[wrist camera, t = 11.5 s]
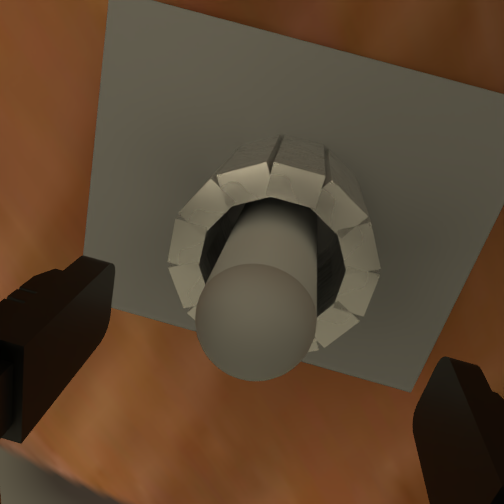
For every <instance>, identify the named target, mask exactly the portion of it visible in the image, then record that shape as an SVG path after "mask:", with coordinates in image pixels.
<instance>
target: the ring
mask: <svg viewBox="0 0 504 504" xmlns="http://www.w3.org/2000/svg"><path fill="white" fill-rule="evenodd" d="M267 197H273V198H277V199H281V200H284V201H288V202H292V203H295V204H299V205H302V206H306V207H310V208H311V209H312V210H313V211H314V212H315V213H316V214H317V215H318V216H319V217H320V218H321V219H322V220H323V221H324V222H325V223H326V224H327V225H328V226H329V227H330V228H331V229H332V230H333V231H334V235H333V238H332V241H331V244H330V245H329V246H328V247H327V248H325V249H324V250H323V251H322V252H321V253H320V254H318V255H317V324H316V332H315V336H314V339H313V342H312V344H311V347H310V349H309V351H308V352H311V351H317V350H319V343H320V344H321V345H322V346H323V347H324V348H325V347H326V346H328V345H329V344H330V343H332V342H333V341H334V340H336V339H337V338H338V337H340V336H341V335H342V334H344V333H345V332H346V331H348V330H349V329H350V328H352V327H353V326H354V325H356V324H357V323H358V322H360V319H359V315H360V316H363V317H364V314H365V312H366V309H367V307H368V304H369V302H370V299H371V297H372V294H373V292H374V290H375V287H376V285H377V282H378V280H379V277H380V272H379V269H381V267H380V262H379V258H378V253H377V248H376V243H375V238H374V234H373V229H372V224H371V220H370V217H369V214H368V211H367V208H366V205H365V202H364V199H363V196H362V193H361V190H360V187H359V183H358V180H356V177H355V175H354V174H353V173H352V172H351V171H350V170H349V169H348V168H347V167H346V166H345V165H344V164H343V163H342V162H341V161H340V160H339V158H338V157H337V156H336V155H335V154H334V153H333V152H332V151H331V150H330V149H329V148H327V149H326V150H325V151H324V146H323V145H322V144H318V143H314V142H311V141H307V140H303V139H299V138H296V137H292V136H288V135H285V136H284V139H283V141H281V138H280V135H277V136H273V137H270V138H266V139H262V140H259V141H255V142H252V143H248V144H244V145H242V146H241V147H240V148H237V149H236V150H235V151H234V152H233V153H232V155H231V156H230V157H229V158H228V159H227V160H226V161H225V162H224V163H223V164H222V165H221V166H220V167H219V168H218V169H217V170H216V171H215V173H214V174H213V175H212V176H211V177H210V178H209V179H208V180H207V181H206V183H205V184H204V185H203V186H202V187H201V188H200V189H199V190H198V191H197V193H196V194H195V195H194V196H193V197H192V198H191V199H190V200H189V201H188V203H187V204H186V205H185V206H184V207H183V208H182V209H181V210H180V212H179V215H178V216H177V217H176V218H175V223H174V229H173V234H172V240H171V245H170V250H169V256H168V261H167V262H169V263H171V264H170V266H169V267H168V269H169V272H170V274H171V277H172V280H173V282H174V285H175V287H176V290H177V293H178V295H179V298H180V300H181V303H182V306H183V308H188V307H190V308H189V310H188V312H187V314H188V315H190V316H191V317H192V318H193V319H194V320H195V315H196V307H197V303H198V300H199V297H200V295H201V293H202V291H203V289H204V287H205V284H206V282H207V280H208V278H209V276H210V274H211V272H212V270H213V268H214V266H215V264H216V262H217V260H218V258H219V256H220V254H221V252H222V250H223V248H224V246H225V244H226V242H227V240H228V238H229V236H230V234H231V232H232V229H231V226H230V223H229V220H228V217H227V215H228V210H229V209H230V208H231V207H232V206H235V205H239V204H243V203H247V202H251V201H255V200H259V199H263V198H267Z"/></svg>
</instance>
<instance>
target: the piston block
mask: <svg viewBox="0 0 504 504" xmlns="http://www.w3.org/2000/svg"><path fill="white" fill-rule="evenodd" d="M277 135H280V138H281V141H283V139H284V136H285V135H288V136H292V137H296V138H299V139H303V140H307V141H311V142H314V143H318V144H322V145H323V146H324V151H325V150H326V149H327V148H329V149H330V150H331V151H332V152H333V153H334V154H335V155H336V156H337V157H338V158H339V160H340V161H341V162H342V163H343V164H344V165H345V166H346V167H347V168H348V169H349V170H350V171H351V172H352V173H353V174H354V175H355V177H356V180H358V183H359V187H360V190H361V193H362V196H363V199H364V202H365V205H366V208H367V211H368V214H369V217H370V220H371V224H372V229H373V234H374V238H375V243H376V248H377V253H378V258H379V262H380V267H381V269H379V272H380V277H379V280H378V282H377V285H376V287H375V290H374V292H373V294H372V297H371V299H370V302H369V304H368V307H367V309H366V312H365V314H364V317H363V316H360V315H359V319H360V322H358V323H357V324H356V325H354V326H353V327H352V328H350V329H349V330H348V331H346V332H345V333H344V334H342V335H341V336H340V337H338V338H337V339H336V340H334V341H333V342H332V343H330V344H329V345H328V346H326V347H325V348H324V347H323V346H322V345H321V344H320V343H319V350H317V351H311V352H308V351H309V349H310V347H311V344H312V342H313V339H314V336H315V332H316V324H317V255H318V254H320V253H321V252H322V251H323V250H324V249H325V248H327V247H328V246H329V245H330V244H331V241H332V238H333V235H334V231H333V230H332V229H331V228H330V227H329V226H328V225H327V224H326V223H325V222H324V221H323V220H322V219H321V218H320V217H319V216H318V215H317V214H316V213H315V212H314V211H313V210H312V209H311V208H310V207H306V206H302V205H299V204H295V203H292V202H288V201H284V200H281V199H277V198H273V197H267V198H263V199H259V200H255V201H251V202H247V203H243V204H239V205H235V206H232V207H231V208H230V209H229V210H228V215H227V217H228V220H229V223H230V226H231V229H232V232H231V234H230V236H229V238H228V240H227V242H226V244H225V246H224V248H223V250H222V252H221V254H220V256H219V258H218V260H217V262H216V264H215V266H214V268H213V270H212V272H211V274H210V276H209V278H208V280H207V282H206V284H205V287H204V289H203V291H202V293H201V295H200V297H199V300H198V303H197V307H196V315H195V320H194V319H193V318H192V317H191V316H190V315H188V314H187V312H188V310H189V308H190V307H188V308H183V306H182V303H181V300H180V298H179V295H178V293H177V290H176V287H175V285H174V282H173V280H172V277H171V274H170V272H169V269H168V267H169V266H170V264H171V263H169V262H167V261H168V256H169V250H170V245H171V240H172V234H173V229H174V223H175V218H176V217H177V216H178V215H179V212H180V210H181V209H182V208H183V207H184V206H185V205H186V204H187V203H188V201H189V200H190V199H191V198H192V197H193V196H194V195H195V194H196V193H197V191H198V190H199V189H200V188H201V187H202V186H203V185H204V184H205V183H206V181H207V180H208V179H209V178H210V177H211V176H212V175H213V174H214V173H215V171H216V170H217V169H218V168H219V167H220V166H221V165H222V164H223V163H224V162H225V161H226V160H227V159H228V158H229V157H230V156H231V155H232V153H233V152H234V151H235V150H236V149H237V148H240V147H241V146H242V145H244V144H248V143H252V142H255V141H259V140H262V139H266V138H270V137H273V136H277ZM503 205H504V94H501V93H497V92H494V91H490V90H486V89H482V88H479V87H475V86H471V85H467V84H464V83H460V82H456V81H452V80H449V79H445V78H441V77H438V76H434V75H430V74H426V73H423V72H419V71H415V70H411V69H408V68H404V67H400V66H396V65H393V64H389V63H385V62H381V61H378V60H374V59H370V58H366V57H363V56H359V55H355V54H351V53H348V52H344V51H340V50H336V49H333V48H329V47H325V46H321V45H318V44H314V43H310V42H306V41H303V40H299V39H295V38H291V37H288V36H284V35H280V34H276V33H273V32H269V31H265V30H261V29H258V28H254V27H250V26H246V25H243V24H239V23H235V22H231V21H228V20H224V19H220V18H216V17H213V16H209V15H205V14H201V13H198V12H194V11H190V10H187V9H183V8H179V7H175V6H172V5H168V4H164V3H160V2H157V1H153V0H109V3H108V13H107V23H106V33H105V43H104V53H103V63H102V73H101V83H100V93H99V103H98V113H97V123H96V133H95V143H94V153H93V163H92V173H91V183H90V193H89V203H88V213H87V223H86V233H85V243H84V253H83V256H88V257H91V258H95V259H99V260H102V261H106V262H110V263H113V264H114V265H115V280H114V288H113V297H112V305H111V308H115V309H118V310H122V311H125V312H129V313H133V314H136V315H140V316H143V317H147V318H150V319H154V320H157V321H161V322H164V323H168V324H171V325H175V326H178V327H182V328H185V329H189V330H192V331H196V332H197V336H198V339H199V342H200V344H201V346H202V349H203V351H204V352H205V354H206V355H207V357H208V358H209V359H210V360H211V361H212V362H213V363H214V364H215V365H216V366H217V367H218V368H219V369H221V370H222V371H223V372H225V373H227V374H229V375H231V376H233V377H236V378H239V379H242V380H248V381H265V380H270V379H273V378H276V377H279V376H281V375H283V374H285V373H287V372H289V371H290V370H291V369H293V368H294V367H295V366H296V365H298V364H299V363H300V361H302V362H305V363H309V364H312V365H316V366H319V367H323V368H326V369H330V370H333V371H337V372H340V373H344V374H347V375H351V376H354V377H358V378H361V379H365V380H369V381H372V382H376V383H379V384H383V385H386V386H390V387H393V388H397V389H400V390H404V391H407V392H411V391H412V389H413V387H414V385H415V383H416V381H417V379H418V377H419V375H420V373H421V371H422V369H423V367H424V365H425V363H426V361H427V359H428V357H429V355H430V353H431V350H432V348H433V346H434V344H435V342H436V340H437V338H438V336H439V334H440V332H441V330H442V328H443V326H444V324H445V322H446V320H447V318H448V316H449V314H450V312H451V310H452V308H453V306H454V304H455V302H456V300H457V298H458V296H459V294H460V292H461V290H462V288H463V286H464V284H465V282H466V280H467V278H468V276H469V274H470V272H471V270H472V268H473V266H474V264H475V262H476V260H477V257H478V255H479V253H480V251H481V249H482V247H483V245H484V243H485V241H486V239H487V237H488V235H489V233H490V231H491V229H492V227H493V225H494V223H495V221H496V219H497V217H498V215H499V213H500V211H501V209H502V207H503Z"/></svg>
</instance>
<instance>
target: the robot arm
mask: <svg viewBox="0 0 504 504" xmlns="http://www.w3.org/2000/svg"><path fill="white" fill-rule="evenodd" d="M114 280H115V265H114V264H113V263H110V262H106V261H102V260H99V259H95V258H91V257H88V256H81V257H79V258H78V259H77V260H76V261H74V262H73V263H72V264H71V265H70V266H68V267H67V268H66V269H65V270H63V271H62V270H58V269H53V270H50V271H47V272H44V273H41V274H39V275H36V276H34V277H32V278H31V279H30V280H28V281H27V282H26V283H24V284H23V285H22V286H20V288H19V290H18V289H16V290H15V291H14V292H13V293H11V294H10V295H9V296H8V297H7V299H3V300H2V301H1V302H0V439H1V438H4V439H7V440H11V441H14V442H17V443H22V442H23V441H24V440H25V438H26V437H27V436H28V434H29V433H30V432H31V431H32V429H33V428H34V427H35V425H36V424H37V423H38V422H39V420H40V419H41V418H42V417H43V415H44V414H45V413H46V411H47V410H48V409H49V408H50V406H51V405H52V404H53V402H54V401H55V400H56V399H57V397H58V396H59V395H60V394H61V392H62V391H63V390H64V388H65V387H66V386H67V385H68V383H69V382H70V381H71V380H72V378H73V377H74V376H75V374H76V373H77V372H78V371H79V369H80V368H81V367H82V365H83V364H84V363H85V362H86V360H87V359H88V358H89V357H90V355H91V354H92V353H93V351H94V350H95V349H96V348H97V346H98V345H99V344H100V342H101V341H102V339H103V337H104V335H105V333H106V330H107V328H108V324H109V320H110V313H111V305H112V297H113V288H114ZM413 434H414V439H415V443H416V447H417V451H418V456H419V460H420V464H421V468H422V472H423V477H424V481H425V485H426V489H427V494H428V498H429V502H430V504H504V399H503V398H502V397H501V396H500V395H499V394H498V393H495V392H492V390H491V388H490V386H489V384H488V382H487V380H486V378H485V376H484V374H483V372H482V370H481V368H480V367H479V366H477V365H474V364H471V363H467V362H464V361H460V360H456V359H453V358H449V357H443V358H441V359H440V360H439V362H438V363H437V365H436V367H435V369H434V371H433V373H432V375H431V377H430V379H429V381H428V384H427V386H426V388H425V390H424V392H423V394H422V396H421V398H420V400H419V402H418V404H417V406H416V409H415V412H414V416H413ZM0 504H1V495H0Z"/></svg>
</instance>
